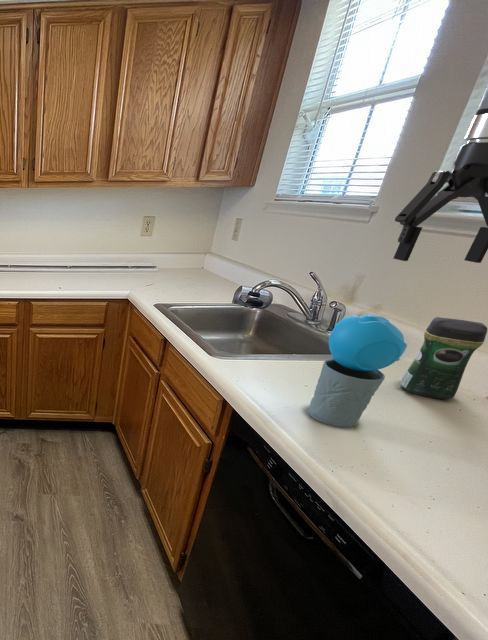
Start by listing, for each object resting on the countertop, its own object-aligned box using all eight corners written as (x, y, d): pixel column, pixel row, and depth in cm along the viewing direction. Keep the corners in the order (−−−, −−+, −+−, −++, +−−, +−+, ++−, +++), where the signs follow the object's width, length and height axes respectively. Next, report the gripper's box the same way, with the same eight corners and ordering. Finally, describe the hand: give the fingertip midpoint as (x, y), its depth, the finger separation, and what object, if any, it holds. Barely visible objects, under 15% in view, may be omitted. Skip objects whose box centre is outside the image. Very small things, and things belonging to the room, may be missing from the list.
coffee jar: (447, 391, 104) (487, 320, 96) (455, 403, 98) (498, 329, 90) (396, 380, 109) (430, 312, 101) (400, 392, 103) (436, 320, 95)
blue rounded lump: (404, 377, 83) (432, 321, 78) (364, 384, 80) (390, 327, 75) (342, 354, 93) (363, 304, 88) (305, 360, 90) (324, 308, 85)
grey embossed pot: (314, 401, 98) (333, 355, 93) (368, 420, 91) (392, 371, 86) (297, 415, 93) (316, 366, 88) (353, 435, 85) (377, 383, 80)
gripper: (544, 143, 78) (484, 258, 87) (401, 142, 80) (358, 255, 89) (593, 140, 71) (522, 265, 80) (436, 140, 73) (384, 262, 82)
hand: (435, 260), depth 85 cm, fingers open, 13 cm apart
